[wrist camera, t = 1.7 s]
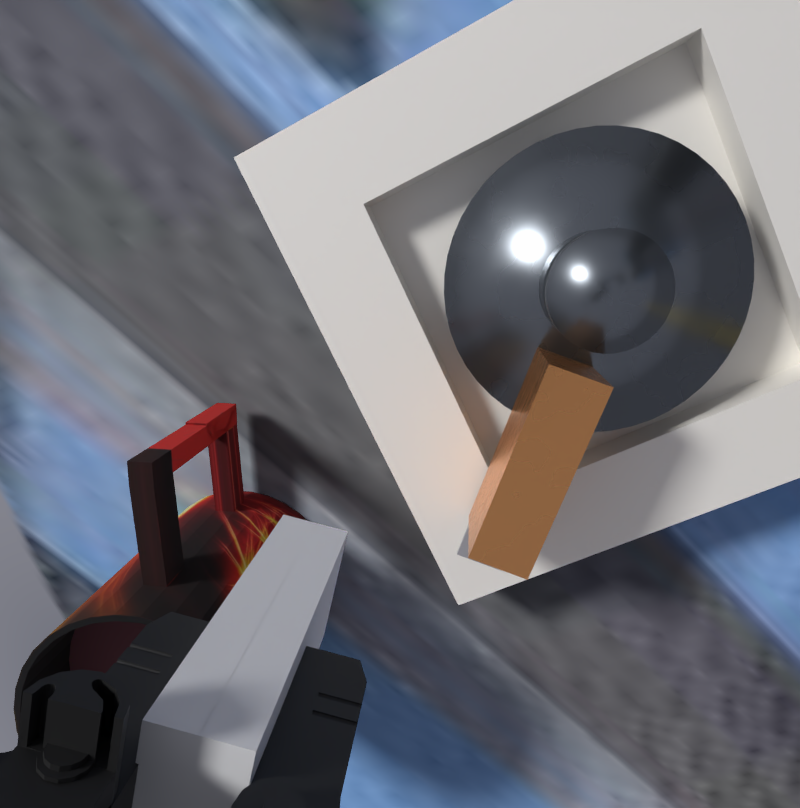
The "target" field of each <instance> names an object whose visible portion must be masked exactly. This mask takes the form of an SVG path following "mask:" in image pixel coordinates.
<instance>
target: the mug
mask: <svg viewBox="0 0 800 808" xmlns="http://www.w3.org/2000/svg"><path fill="white" fill-rule="evenodd" d="M207 446H208V448H209V457H210V466H211V475H212V485H213V494H214V495H211V496H208V497H205V498H202V499H200V500H199V501H197V502H196V503H194V504H192V505H191V506H189V507H188V508H187V509H186V510H185V511H183V512H182V513H181V514H180V515H179V516H178V511H177V503H176V495H175V487H174V479H173V472H174V471H175V470H177V469H178V468H179V467H181V466H182V465H183V464H185V463H186V462H187V461H189V460H190V459H191V458H193V457H194V456H195V455H197V454H198V453H199V452H201V451H202V450H203V449H204V448H206V447H207ZM127 465H128V477H129V488H130V495H131V502H132V509H133V516H134V523H135V530H136V537H137V545H138V552H139V553H138V554H137V555H136V556H135V557H133V558H132V559H131V560H130V561H129V562H128V563H127V564H126V565H125V566H124V567H123V568H121V569H120V570H119V571H118V572H117V573H116V574H115V575H114V576H113V577H112V578H111V579H110V580H108V581H107V582H106V583H105V584H104V585H103V586H102V587H101V588H100V589H99V590H98V591H96V592H95V593H94V594H93V595H92V596H91V597H90V598H89V599H88V600H87V601H86V602H85V603H83V604H82V605H81V606H80V607H79V608H78V609H77V610H76V611H75V612H74V613H73V614H71V615H70V616H69V617H68V618H67V619H66V620H65V621H64V622H63V623H62V624H61V625H60V626H59V627H57V628H56V629H55V630H54V631H53V632H52V633H51V634H50V635H49V636H48V637H47V638H46V639H44V640H43V642H41V643H40V644H39V645H38V646H37V647H36V648H35V649H34V650H33V652H32V653H31V655H30V656H29V658H28V660H27V661H26V663H25V664H24V666H23V667H22V670H21V673H20V676H19V679H18V682H17V685H16V688H15V701H14V714H15V721H16V729H17V733H18V735H19V726H20V716H21V706H22V696H23V691H24V690H26V689H27V688H29V687H30V686H31V685H33V684H34V683H36V682H37V681H38V680H40V679H43V678H45V677H48V676H51V675H54V674H56V673H59V672H65V671H73V670H81V669H82V670H90V671H98V672H103V673H106V672H107V671H108V670H109V669H110V667H111V666H112V665H113V664H114V663H116V662H117V660H118V658H119V657H120V656H121V654H122V653H123V652H124V651H125V650H126V649H127V647H130V645H131V643H132V641H133V640H134V639H135V638H136V637H137V636H138V634H139V633H140V632H141V631H142V630H143V629H144V627H145V626H146V625H147V624H149V623H151V622H153V621H155V620H156V619H158V618H160V617H162V616H164V615H166V614H168V613H170V612H175V613H178V614H182V615H186V616H190V617H193V618H197V619H201V620H204V621H208V622H210V621H211V619H212V618H213V616H214V615H215V613H216V612H217V611H218V609H219V608H220V606H221V605H222V603H223V602H224V600H225V599H226V597H227V596H228V595H229V593H230V592H231V590H232V589H233V587H234V586H235V584H236V583H237V581H238V580H239V579H240V577H241V576H242V574H243V573H244V571H245V570H246V568H247V567H248V566H249V564H250V563H251V561H252V560H253V558H254V557H255V555H256V554H257V552H258V551H259V550H260V548H261V547H262V545H263V544H264V542H265V541H266V539H267V538H268V536H269V535H270V534H271V532H272V531H273V529H274V528H275V526H276V525H277V523H278V522H279V520H280V519H281V518H282V516H283V515H287V516H291V517H295V518H299V519H302V520H306V519H305V518H304V517H303V516H302V515H301V514H300V513H298V512H297V511H295V510H294V509H292V508H291V507H290V506H288V505H287V504H285V503H283V502H281V501H279V500H276V499H274V498H272V497H270V496H266V495H262V494H258V493H254V492H246V491H243V483H242V473H241V462H240V452H239V442H238V432H237V412H236V404H229V403H217V404H215V405H213V406H212V407H210V408H208V409H207V410H205V411H204V412H202V413H200V414H199V415H197V416H195V417H194V418H192V419H191V420H189V421H187V422H186V425H185V426H183V427H181V428H180V429H178V430H177V431H175V432H173V433H172V434H170V435H169V436H167V437H165V438H164V439H162V440H161V441H159V442H157V443H156V444H154V445H152V446H151V447H149V448H148V449H146V450H144V451H143V452H141V453H140V454H138V455H136V456H135V457H133V458H132V459H130V460H128V461H127ZM306 521H307V520H306Z"/></svg>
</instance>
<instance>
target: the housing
mask: <svg viewBox="0 0 800 808" xmlns="http://www.w3.org/2000/svg"><path fill="white" fill-rule="evenodd" d="M612 125H619V126H626V127H634V128H640V129H644V130H648V131H651V132H655V133H659V134H661V135H664V136H666V137H668V138H670V139H673V140H675V141H677V142H679V143H681V144H683V145H684V146H686V147H687V148H689V149H691V150H692V151H694V152H695V153H697V154H698V155H699V156H700V157H702V158H703V159H704V160H705V161H706V162H707V163H709V164H710V165H711V166H712V167H713V168H714V169H715V170H716V171H717V173H718V174H719V175H720V176H721V177H722V178H723V179H724V181H725V182H726V183H727V185H728V186H729V188H730V189H731V191H732V192H733V194H734V196H735V197H736V199H737V201H738V203H739V205H740V207H741V209H742V212H743V214H744V216H745V218H746V222H747V225H748V229H749V232H750V235H751V240H752V247H753V254H754V284H753V291H752V299H751V303H750V306H749V310H748V314H747V317H746V321H745V323H744V325H743V328H742V330H741V333H740V335H739V337H738V339H737V341H736V343H735V345H734V346H733V348H732V350H731V352H730V353H729V355H728V357H727V358H726V359H725V361H724V362H723V363H722V365H721V366H720V368H719V369H718V370H717V372H716V373H715V374H714V375H713V376H712V377H711V378H710V379H709V380H708V381H707V382H706V383H705V384H704V385H703V386H702V387H701V388H700V389H699V390H698V391H697V392H695V393H694V394H693V395H692V396H691V397H689V398H688V399H687V400H686V401H684V402H682V403H681V404H679V405H678V406H676V407H675V408H673V409H671V410H670V411H668V412H666V413H664V414H662V415H660V416H658V417H656V418H654V419H652V420H649V421H646V422H643V423H640V424H637V425H634V426H631V427H627V428H622V429H617V430H612V431H601V432H594V433H593V435H592V437H591V439H590V442H589V444H588V446H587V448H586V451H585V453H584V455H583V457H582V460H581V462H580V464H579V466H578V468H577V471H576V473H575V475H574V477H573V480H572V482H571V484H570V486H569V489H568V491H567V493H566V495H565V497H564V500H563V502H562V504H561V506H560V509H559V511H558V513H557V515H556V518H555V520H554V522H553V524H552V526H551V529H550V531H549V533H548V535H547V538H546V540H545V542H544V544H543V547H542V549H541V551H540V553H539V555H538V558H537V560H536V562H535V564H534V567H533V569H532V571H531V573H530V576H529V578H528V579H530V578H533V577H535V576H538V575H541V574H543V573H546V572H549V571H551V570H554V569H557V568H559V567H562V566H565V565H567V564H570V563H573V562H576V561H578V560H581V559H584V558H586V557H589V556H592V555H594V554H597V553H600V552H602V551H605V550H608V549H610V548H613V547H616V546H618V545H621V544H624V543H626V542H629V541H632V540H634V539H637V538H640V537H642V536H645V535H648V534H650V533H653V532H656V531H659V530H661V529H664V528H667V527H669V526H672V525H675V524H677V523H680V522H683V521H685V520H688V519H691V518H693V517H696V516H699V515H701V514H704V513H707V512H709V511H712V510H715V509H717V508H720V507H723V506H725V505H728V504H731V503H734V502H736V501H739V500H742V499H744V498H747V497H750V496H752V495H755V494H758V493H760V492H763V491H766V490H768V489H771V488H774V487H776V486H779V485H782V484H784V483H787V482H790V481H792V480H795V479H798V478H800V0H513V1H512V2H510V3H508V4H506V5H505V6H503V7H501V8H499V9H497V10H496V11H494V12H492V13H490V14H489V15H487V16H485V17H483V18H481V19H480V20H478V21H476V22H474V23H473V24H471V25H469V26H467V27H465V28H464V29H462V30H460V31H458V32H457V33H455V34H453V35H451V36H449V37H448V38H446V39H444V40H442V41H440V42H439V43H437V44H435V45H433V46H432V47H430V48H428V49H426V50H424V51H423V52H421V53H419V54H417V55H416V56H414V57H412V58H410V59H408V60H407V61H405V62H403V63H401V64H400V65H398V66H396V67H394V68H392V69H391V70H389V71H387V72H385V73H384V74H382V75H380V76H378V77H376V78H375V79H373V80H371V81H369V82H368V83H366V84H364V85H362V86H360V87H359V88H357V89H355V90H353V91H351V92H350V93H348V94H346V95H344V96H343V97H341V98H339V99H337V100H335V101H334V102H332V103H330V104H328V105H327V106H325V107H323V108H321V109H319V110H318V111H316V112H314V113H312V114H311V115H309V116H307V117H305V118H303V119H302V120H300V121H298V122H296V123H295V124H293V125H291V126H289V127H287V128H286V129H284V130H282V131H280V132H279V133H277V134H275V135H273V136H271V137H270V138H268V139H266V140H264V141H262V142H261V143H259V144H257V145H255V146H254V147H252V148H250V149H248V150H246V151H245V152H243V153H241V154H239V155H238V156H236V157H234V159H235V161H236V163H237V165H238V167H239V169H240V171H241V173H242V175H243V177H244V179H245V181H246V183H247V185H248V187H249V189H250V191H251V193H252V195H253V197H254V199H255V201H256V203H257V205H258V207H259V209H260V211H261V213H262V215H263V217H264V219H265V221H266V223H267V225H268V227H269V229H270V231H271V233H272V235H273V237H274V239H275V241H276V243H277V245H278V247H279V249H280V251H281V253H282V255H283V257H284V259H285V261H286V263H287V265H288V267H289V269H290V271H291V273H292V275H293V277H294V279H295V281H296V283H297V285H298V287H299V289H300V291H301V293H302V294H303V296H304V298H305V300H306V302H307V304H308V306H309V308H310V310H311V312H312V314H313V316H314V318H315V320H316V322H317V324H318V326H319V328H320V330H321V332H322V334H323V336H324V338H325V340H326V342H327V344H328V346H329V348H330V350H331V352H332V354H333V356H334V358H335V360H336V362H337V364H338V366H339V368H340V370H341V372H342V374H343V376H344V378H345V380H346V382H347V384H348V386H349V388H350V390H351V392H352V394H353V396H354V398H355V400H356V402H357V404H358V406H359V408H360V410H361V412H362V414H363V416H364V418H365V420H366V422H367V424H368V426H369V428H370V430H371V432H372V434H373V436H374V438H375V440H376V442H377V444H378V446H379V448H380V450H381V452H382V454H383V456H384V458H385V460H386V462H387V464H388V466H389V468H390V470H391V472H392V474H393V476H394V478H395V480H396V482H397V484H398V486H399V488H400V490H401V492H402V494H403V496H404V498H405V500H406V502H407V504H408V506H409V508H410V510H411V512H412V514H413V516H414V518H415V520H416V522H417V524H418V526H419V528H420V530H421V532H422V534H423V536H424V538H425V540H426V542H427V544H428V546H429V548H430V550H431V552H432V554H433V556H434V558H435V560H436V562H437V564H438V566H439V568H440V570H441V572H442V574H443V576H444V578H445V580H446V582H447V584H448V586H449V588H450V590H451V592H452V594H453V596H454V598H455V600H456V602H457V604H458V605H460V604H463V603H466V602H468V601H471V600H474V599H476V598H479V597H482V596H484V595H487V594H490V593H492V592H495V591H498V590H501V589H503V588H506V587H509V586H511V585H514V584H517V583H519V582H522V581H525V580H526V579H524V578H521V577H518V576H516V575H513V574H510V573H508V572H505V571H502V570H499V569H497V568H494V567H491V566H489V565H486V564H483V563H480V562H478V561H475V560H472V559H470V558H468V532H469V514H470V511H471V509H472V507H473V504H474V502H475V499H476V497H477V494H478V492H479V489H480V487H481V485H482V482H483V480H484V477H485V475H486V472H487V470H488V467H489V465H490V463H491V460H492V458H493V455H494V453H495V450H496V448H497V445H498V443H499V440H500V438H501V436H502V433H503V431H504V428H505V426H506V423H507V421H508V418H509V416H510V414H511V411H512V410H510V409H508V408H507V407H505V406H504V405H502V404H501V403H500V402H499V401H497V400H496V399H495V398H494V397H492V396H491V395H490V394H489V393H488V392H487V391H486V390H485V389H484V388H483V387H482V386H481V385H480V384H479V383H478V382H477V380H476V379H475V378H474V376H473V375H472V374H471V372H470V371H469V370H468V368H467V367H466V365H465V363H464V361H463V360H462V358H461V356H460V354H459V352H458V351H457V348H456V346H455V343H454V340H453V338H452V335H451V333H450V329H449V325H448V320H447V316H446V310H445V300H444V274H445V268H446V261H447V255H448V251H449V248H450V245H451V241H452V238H453V235H454V232H455V230H456V228H457V225H458V223H459V221H460V218H461V216H462V215H463V213H464V211H465V210H466V208H467V206H468V204H469V203H470V201H471V199H472V198H473V197H474V195H475V194H476V193H477V192H478V190H479V189H480V188H481V186H482V185H483V184H484V183H485V182H486V180H487V179H488V178H489V177H490V176H491V175H492V174H493V173H494V172H495V171H496V170H497V169H498V168H499V167H501V166H502V165H503V164H505V163H506V162H507V161H508V160H510V159H511V158H512V157H513V156H515V155H516V154H518V153H519V152H521V151H523V150H524V149H526V148H528V147H529V146H531V145H533V144H534V143H537V142H539V141H541V140H544V139H546V138H548V137H550V136H553V135H555V134H559V133H562V132H566V131H569V130H573V129H577V128H584V127H591V126H612Z"/></svg>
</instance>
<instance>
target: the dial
mask: <svg viewBox="0 0 800 808" xmlns="http://www.w3.org/2000/svg"><path fill="white" fill-rule="evenodd" d="M753 284H754V254H753V247H752V240H751V235H750V232H749V229H748V225H747V222H746V218H745V216H744V214H743V212H742V209H741V207H740V205H739V203H738V201H737V199H736V197H735V196H734V194H733V192H732V191H731V189H730V188H729V186H728V185H727V183H726V182H725V181H724V179H723V178H722V177H721V176H720V175H719V174H718V173H717V171H716V170H715V169H714V168H713V167H712V166H711V165H710V164H709V163H707V162H706V161H705V160H704V159H703V158H702V157H700V156H699V155H698V154H697V153H695V152H694V151H692V150H691V149H689V148H687V147H686V146H684V145H683V144H681V143H679V142H677V141H675V140H673V139H670V138H668V137H666V136H664V135H661V134H659V133H655V132H651V131H648V130H644V129H640V128H634V127H626V126H619V125H612V126H591V127H584V128H577V129H573V130H569V131H566V132H562V133H559V134H555V135H553V136H550V137H548V138H546V139H544V140H541V141H539V142H537V143H534V144H533V145H531V146H529V147H528V148H526V149H524V150H523V151H521V152H519V153H518V154H516V155H515V156H513V157H512V158H511V159H510V160H508V161H507V162H506V163H505V164H503V165H502V166H501V167H499V168H498V169H497V170H496V171H495V172H494V173H493V174H492V175H491V176H490V177H489V178H488V179H487V180H486V182H485V183H484V184H483V185H482V186H481V188H480V189H479V190H478V192H477V193H476V194H475V195H474V197H473V198H472V199H471V201H470V203H469V204H468V206H467V208H466V210H465V211H464V213H463V215H462V216H461V218H460V221H459V223H458V225H457V228H456V230H455V232H454V235H453V238H452V241H451V245H450V248H449V251H448V255H447V261H446V268H445V274H444V300H445V310H446V316H447V320H448V325H449V329H450V333H451V335H452V338H453V340H454V343H455V346H456V348H457V351H458V352H459V354H460V356H461V358H462V360H463V361H464V363H465V365H466V367H467V368H468V370H469V371H470V372H471V374H472V375H473V376H474V378H475V379H476V380H477V382H478V383H479V384H480V385H481V386H482V387H483V388H484V389H485V390H486V391H487V392H488V393H489V394H490V395H491V396H492V397H494V398H495V399H496V400H497V401H499V402H500V403H501V404H502V405H504V406H505V407H507V408H508V409H510V410H512V411H511V414H510V416H509V418H508V421H507V423H506V426H505V428H504V431H503V433H502V436H501V438H500V440H499V443H498V445H497V448H496V450H495V453H494V455H493V458H492V460H491V463H490V465H489V467H488V470H487V472H486V475H485V477H484V480H483V482H482V485H481V487H480V489H479V492H478V494H477V497H476V499H475V502H474V504H473V507H472V509H471V511H470V514H469V532H468V558H470V559H472V560H475V561H478V562H480V563H483V564H486V565H489V566H491V567H494V568H497V569H499V570H502V571H505V572H508V573H510V574H513V575H516V576H518V577H521V578H524V579H526V580H528V578H529V576H530V573H531V571H532V569H533V567H534V564H535V562H536V560H537V558H538V555H539V553H540V551H541V549H542V547H543V544H544V542H545V540H546V538H547V535H548V533H549V531H550V529H551V526H552V524H553V522H554V520H555V518H556V515H557V513H558V511H559V509H560V506H561V504H562V502H563V500H564V497H565V495H566V493H567V491H568V489H569V486H570V484H571V482H572V480H573V477H574V475H575V473H576V471H577V468H578V466H579V464H580V462H581V460H582V457H583V455H584V453H585V451H586V448H587V446H588V444H589V442H590V439H591V437H592V435H593V433H594V432H601V431H612V430H617V429H622V428H627V427H631V426H634V425H637V424H640V423H643V422H646V421H649V420H652V419H654V418H656V417H658V416H660V415H662V414H664V413H666V412H668V411H670V410H671V409H673V408H675V407H676V406H678V405H679V404H681V403H682V402H684V401H686V400H687V399H688V398H689V397H691V396H692V395H693V394H694V393H695V392H697V391H698V390H699V389H700V388H701V387H702V386H703V385H704V384H705V383H706V382H707V381H708V380H709V379H710V378H711V377H712V376H713V375H714V374H715V373H716V372H717V370H718V369H719V368H720V366H721V365H722V363H723V362H724V361H725V359H726V358H727V357H728V355H729V353H730V352H731V350H732V348H733V346H734V345H735V343H736V341H737V339H738V337H739V335H740V333H741V330H742V328H743V325H744V323H745V321H746V317H747V314H748V310H749V306H750V303H751V299H752V291H753Z"/></svg>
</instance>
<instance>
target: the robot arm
mask: <svg viewBox="0 0 800 808" xmlns="http://www.w3.org/2000/svg"><path fill="white" fill-rule="evenodd" d="M347 534H348V531H345V530H341V529H337V528H333V527H329V526H325V525H322V524H318V523H314V522H310V521H306V520H302V519H299V518H295V517H291V516H287V515H283V516H282V518H281V519H280V520H279V522H278V523H277V525H276V526H275V528H274V529H273V531H272V532H271V534H270V535H269V536H268V538H267V539H266V541H265V542H264V544H263V545H262V547H261V548H260V550H259V551H258V552H257V554H256V555H255V557H254V558H253V560H252V561H251V563H250V564H249V566H248V567H247V568H246V570H245V571H244V573H243V574H242V576H241V577H240V579H239V580H238V581H237V583H236V584H235V586H234V587H233V589H232V590H231V592H230V593H229V595H228V596H227V597H226V599H225V600H224V602H223V603H222V605H221V606H220V608H219V609H218V611H217V612H216V613H215V615H214V616H213V618H212V619H211V621H210V622H208V621H204V620H201V619H197V618H193V617H190V616H186V615H182V614H178V613H175V612H170V613H168V614H166V615H164V616H162V617H160V618H158V619H156V620H155V621H153V622H151V623H149V624H147V625H146V626H145V627H144V629H143V630H142V631H141V632H140V633H139V634H138V636H137V637H136V638H135V639H134V640H133V641H132V643H131V645H130V647H127V649H126V650H125V651H124V652H123V653H122V654H121V656H120V657H119V658H118V660H117V662H116V663H114V664H113V665H112V666H111V667H110V669H109V670H108V671H107V672H106V673H103V672H98V671H90V670H82V669H81V670H73V671H65V672H59V673H56V674H54V675H51V676H48V677H45V678H43V679H40V680H38V681H37V682H36V683H34V684H33V685H31V686H30V687H29V688H27V689H26V690H24V691H23V696H22V706H21V716H20V726H19V735H18V745H17V747H16V748H15V749H14V750H13V751H9V752H5V753H0V808H340V797H341V792H342V788H343V784H344V779H345V775H346V771H347V766H348V762H349V757H350V753H351V749H352V744H353V740H354V736H355V731H356V727H357V722H358V718H359V714H360V709H361V705H362V701H363V696H364V692H365V688H366V683H367V681H366V678H365V675H364V672H363V669H362V665H361V662H360V660H357V659H353V658H350V657H346V656H342V655H338V654H335V653H331V652H327V651H324V650H320V649H319V648H320V645H321V642H322V640H323V637H324V633H325V629H326V625H327V620H328V616H329V612H330V607H331V603H332V599H333V594H334V590H335V586H336V582H337V577H338V573H339V569H340V564H341V560H342V556H343V551H344V547H345V543H346V538H347Z"/></svg>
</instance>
